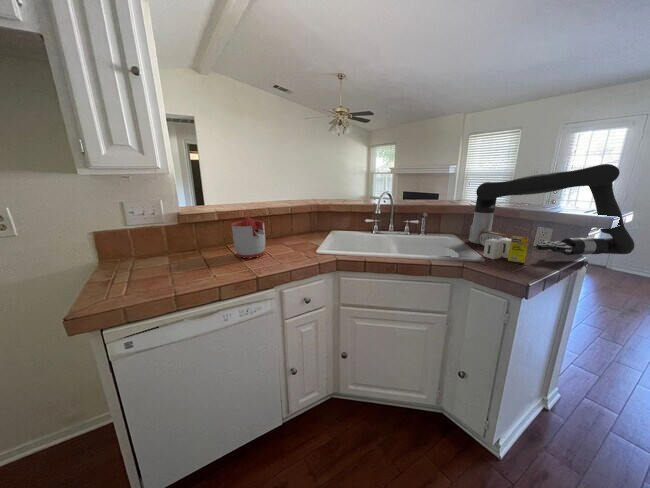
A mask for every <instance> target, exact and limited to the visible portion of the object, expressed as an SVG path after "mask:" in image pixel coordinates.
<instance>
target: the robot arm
mask: <svg viewBox="0 0 650 488" xmlns="http://www.w3.org/2000/svg"><path fill="white" fill-rule="evenodd" d="M619 176H620V169H619V168H618V167H617V166H616V165H614V164H610V163H600V164H597V165H593V166H588V167H584V168H579V169H575V170H565V171H555V172H554V171H552V172H544V173H539V174H531V175H526V176H522V177H519V178H516V179H515V178H514V179H510V180H505V181H497V182H491V181H486V182H483V183H481V184H480V185H479V186H478V187H477V188H476V190H475V191H476V193H475V194H476V202H475V206H474V211H473V212H474V213H473V221H472V224H470V229H469V236H468V242H470V243H472V244H475V245H477V244H478V245H481V244H480V243H479V235H480V234H481V233H483V232H485V231H492V227H493V222H494V214H495V210H496V206H497V198H501V197H509V196H527V195H538V194H546V193H551V192H557V191H561V190H565V189H569V188H577V187H578V188H579V187H588V188H589V190H590V192H591V194H592V197H593V199H594V205H595V210H596V215H597V214H598V215H607V216H618V217H620V220H619V223H618V225H620V226H618V225H617V226H618V227H615V228H612V229H610V228H609V229H600V232H601V233H603V234H608V235H610V237H607V238H602V237H601V238H598V237H595V238H594V237H593V238H591V237H590V238H589V237H588V238H587V237H567V238H563V239H562V240H561V241H556V240H555V241H550V240H544V241H543V242H542V243H539V244H538V243H537V244H536V247H535V249H536V250H538V251H551V252H553V253H561V254H563V255H566V256H587V255H600V254H601V255H602V254H603V255H604V254H606V255H607V254H608V255H609V254H610V255H628V254H629V255H630V254H631V253H632V252H633V251H634V249H635V241H634V239H633V238H632V236H631V235H630V233H629V232H628V230H627V229H626V227H625V223H624V220H623V219H624V218H623V215H622V211H621V209H620V206H619V203H618V202H617V199H616V196H615V194H614V188H613V186H614V185H613V184H614V183H613V182H615V181H616V180H617V179H618V178H619ZM598 215H597V216H598Z"/></svg>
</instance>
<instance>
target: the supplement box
mask: <svg viewBox="0 0 650 488" xmlns="http://www.w3.org/2000/svg"><path fill="white" fill-rule="evenodd" d="M510 239H511V243H510V249H509V254H508V258H507V263H511V264H519V265H525V262H526V261H525V260H526V255H527V251H528V246H529V242H530V239H529V237H527V236H517V235H511V237H510Z"/></svg>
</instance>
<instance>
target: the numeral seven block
mask: <svg viewBox="0 0 650 488" xmlns="http://www.w3.org/2000/svg"><path fill="white" fill-rule="evenodd" d="M498 240H500V241H504V242H503V248H502V254H501V258H505V259H508V254H509V249H510V243H511V238H510V239H509V238H501V239H498Z"/></svg>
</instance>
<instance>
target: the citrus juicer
mask: <svg viewBox="0 0 650 488" xmlns="http://www.w3.org/2000/svg"><path fill="white" fill-rule="evenodd" d="M230 225H231V230H232V238H233V239H232V240H233V244H234V246H233V247H234V248H235V249H234V250H235V251H236V254H237V255H238V257H239V256H240V257H244V258H250V257H257V256H260V255H262V254H263V255H264V252H265V250H266V249H265V247H266V231H265V230H266V229H265V221H264V220H260V219H253V218H251V217H250V216H249V215H248V216H246V217H245V218H244V219H243V220H238V221H234V222H231V223H230ZM263 255H262V256H263ZM240 257H239V258H240ZM260 257H261V256H260ZM257 258H258V257H257Z"/></svg>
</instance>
